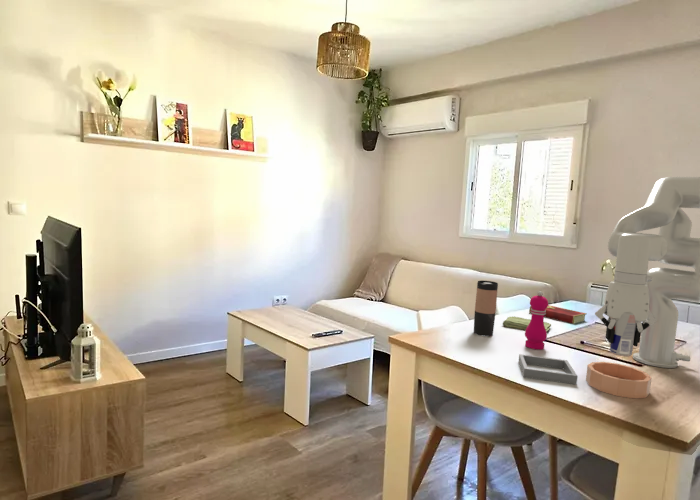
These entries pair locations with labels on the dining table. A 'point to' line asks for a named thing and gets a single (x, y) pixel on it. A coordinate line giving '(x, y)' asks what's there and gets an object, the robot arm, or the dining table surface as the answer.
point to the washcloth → (521, 323)
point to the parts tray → (547, 375)
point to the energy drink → (624, 335)
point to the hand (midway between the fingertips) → (621, 342)
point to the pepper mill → (537, 323)
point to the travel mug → (485, 308)
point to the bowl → (618, 379)
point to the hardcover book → (563, 314)
